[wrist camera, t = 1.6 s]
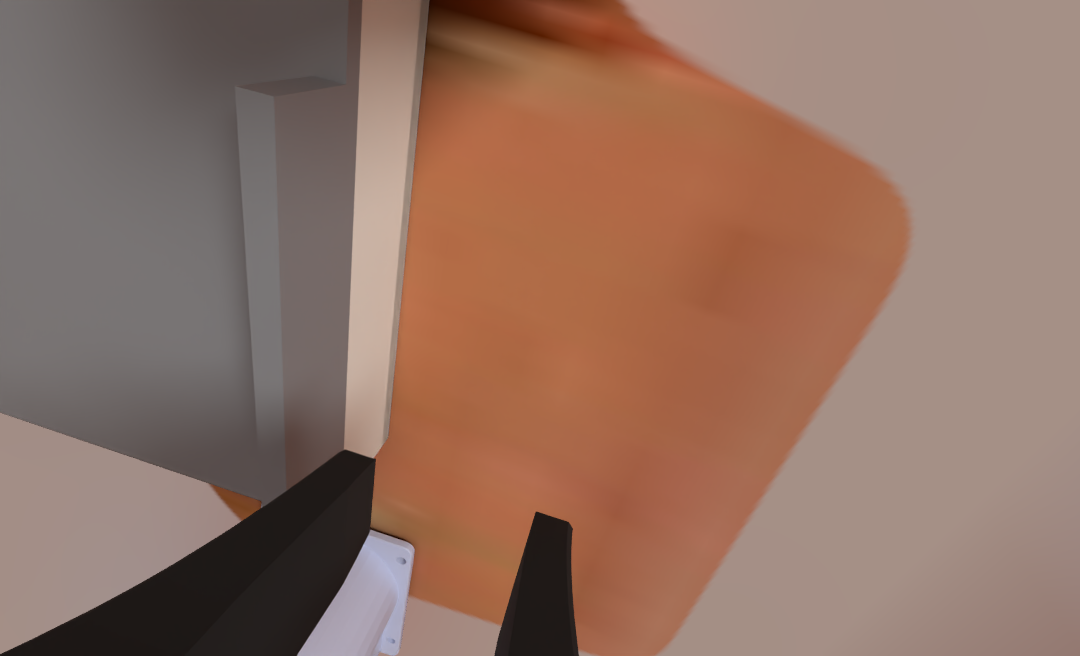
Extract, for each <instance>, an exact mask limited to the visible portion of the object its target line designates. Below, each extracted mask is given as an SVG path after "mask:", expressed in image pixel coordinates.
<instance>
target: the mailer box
mask: <svg viewBox="0 0 1080 656" xmlns="http://www.w3.org/2000/svg"><path fill="white" fill-rule="evenodd" d="M429 1H430V0H362V24H361V49H360V73H359V97H358V121H357V145H356V170H355V194H354V218H353V242H352V266H351V290H350V315H349V339H348V363H347V387H346V411H345V436H344V450H345V449H346V450H349V451H352V452H355V453H358V454H361V455H364V456H367V457H370V458H374V457H375V456H376V454H377V453H378V451H379V450H380V448H381V447H382V446H383V444H384V443H385V441H386V440H387V439H388V434H389V423H390V413H391V402H392V391H393V381H394V370H395V360H396V349H397V339H398V328H399V318H400V307H401V296H402V286H403V275H404V265H405V254H406V244H407V233H408V222H409V212H410V201H411V191H412V180H413V170H414V159H415V149H416V138H417V127H418V117H419V106H420V96H421V85H422V75H423V64H424V53H425V43H426V32H427V22H428V11H429Z"/></svg>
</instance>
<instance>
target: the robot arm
mask: <svg viewBox="0 0 1080 656" xmlns="http://www.w3.org/2000/svg"><path fill="white" fill-rule="evenodd" d="M375 462H376V459H374V458H370V457H367V456H364V455H361V454H358V453H355V452H352V451H349V450H346V449H345V450H343V451H340V452H339V453H337V454H336V455H335V456H333V457H332V458H331V459H329V460H328V461H327V462H325V463H324V464H323V465H321V466H320V467H318V468H317V469H316V470H314V471H313V472H312V473H310V474H309V475H308V476H306V477H305V478H303V479H302V480H301V481H299V482H298V483H297V484H295V485H294V486H292V487H291V488H290V489H288V490H287V491H285V492H284V493H282V494H281V495H280V496H278V497H277V498H275V499H274V500H272V501H271V502H270V503H268V504H267V505H265V506H264V507H262V504H261V509H259V510H258V511H256V512H255V513H253V514H252V515H250V516H249V517H247V518H246V519H244V520H243V521H241V522H240V523H238V524H237V525H235V526H234V527H232V528H231V529H230V530H228V531H226V532H225V533H223V534H222V535H220V536H219V537H217V538H215V539H214V540H212V541H210V542H209V543H207V544H206V545H204V546H202V547H201V548H199V549H197V550H196V551H194V552H192V553H191V554H189V555H188V556H186V557H184V558H183V559H181V560H180V561H178V562H176V563H175V564H173V565H171V566H169V567H168V568H167V569H164V570H163V571H161V572H159V573H157V574H156V575H154V576H152V577H150V578H149V579H147V580H145V581H143V582H142V583H140V584H138V585H136V586H135V587H133V588H131V589H129V590H127V591H126V592H123V593H122V594H120V595H118V596H116V597H114V598H112V599H111V600H109V601H107V602H105V603H103V604H101V605H99V606H98V607H96V608H94V609H92V610H90V611H88V612H86V613H84V614H82V615H80V616H78V617H76V618H74V619H72V620H70V621H68V622H66V623H64V624H62V625H60V626H58V627H56V628H54V629H52V630H50V631H48V632H46V633H44V634H42V635H40V636H38V637H36V638H34V639H32V640H29V641H28V642H25V643H23V644H21V645H19V646H17V647H15V648H13V649H11V650H8V651H6V652H4V653H2V654H0V656H378V654H379V652H382V653H385V654H388V655H392V656H393V655H397V654H398V652H399V650H400V648H401V640H402V634H403V627H404V621H405V614H406V607H407V600H408V594H409V587H410V580H411V573H412V567H413V560H414V553H415V550H414V547H413V546H412V545H411V544H410V543H408V542H406V541H403V540H400V539H397V538H394V537H391V536H388V535H385V534H382V533H379V532H376V531H373V530H370V523H371V511H372V499H373V487H374V474H375ZM572 531H573V528H572V527H571V525H570V524H569V522H567V521H564V520H561V519H558V518H554V517H551V516H548V515H545V514H542V513H539V512H536V513H535V516H534V520H533V523H532V526H531V529H530V533H529V536H528V539H527V543H526V546H525V549H524V553H523V556H522V559H521V563H520V566H519V569H518V572H517V576H516V579H515V582H514V586H513V589H512V593H511V596H510V599H509V603H508V606H507V610H506V613H505V616H504V620H503V623H502V627H501V630H500V633H499V637H498V641H497V647H496V651H495V656H579V654H578V645H577V636H576V628H575V619H574V608H573V594H572V576H571V544H572Z"/></svg>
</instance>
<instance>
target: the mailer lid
mask: <svg viewBox="0 0 1080 656" xmlns="http://www.w3.org/2000/svg"><path fill="white" fill-rule="evenodd" d="M361 24H362V0H0V413H3V414H6V415H9V416H12V417H15V418H17V419H21V420H23V421H26V422H29V423H32V424H35V425H38V426H41V427H44V428H47V429H50V430H53V431H56V432H59V433H62V434H65V435H68V436H71V437H74V438H77V439H79V440H82V441H85V442H88V443H91V444H95V445H97V446H100V447H103V448H106V449H109V450H112V451H115V452H118V453H121V454H124V455H127V456H130V457H133V458H136V459H139V460H142V461H144V462H147V463H150V464H153V465H156V466H159V467H163V468H165V469H168V470H171V471H174V472H177V473H180V474H183V475H186V476H189V477H192V478H195V479H198V480H201V481H203V482H206V483H209V484H212V485H215V486H218V487H221V488H224V489H227V490H230V491H233V492H236V493H239V494H242V495H245V496H248V497H251V498H254V499H257V500H260V501H262V507H264V506H265V505H267V504H268V503H270V502H271V501H272V500H274V499H275V498H277V497H278V496H280V495H281V494H282V493H284V492H285V491H287V490H288V489H290V488H291V487H292V486H294V485H295V484H297V483H298V482H299V481H301V480H302V479H303V478H305V477H306V476H308V475H309V474H310V473H312V472H313V471H314V470H316V469H317V468H318V467H320V466H321V465H323V464H324V463H325V462H327V461H328V460H329V459H331V458H332V457H333V456H335V455H336V454H337V453H339V452H340V451H343V450H344V436H345V411H346V387H347V363H348V339H349V315H350V290H351V266H352V242H353V218H354V194H355V170H356V145H357V121H358V97H359V73H360V49H361Z"/></svg>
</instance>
